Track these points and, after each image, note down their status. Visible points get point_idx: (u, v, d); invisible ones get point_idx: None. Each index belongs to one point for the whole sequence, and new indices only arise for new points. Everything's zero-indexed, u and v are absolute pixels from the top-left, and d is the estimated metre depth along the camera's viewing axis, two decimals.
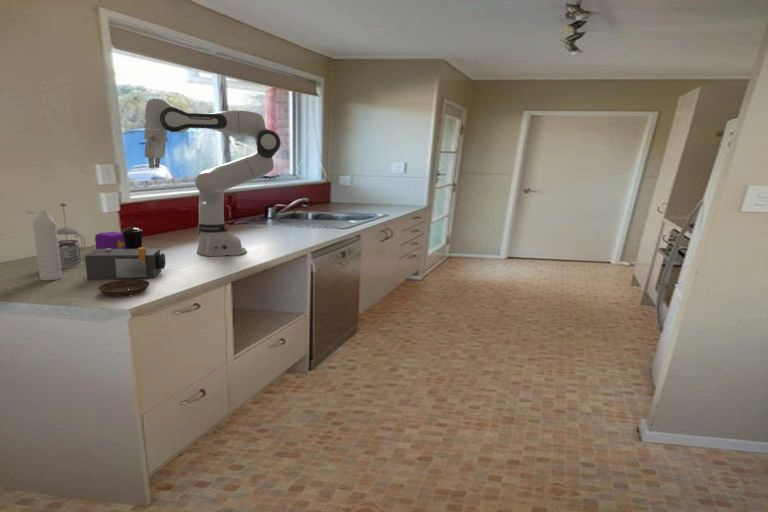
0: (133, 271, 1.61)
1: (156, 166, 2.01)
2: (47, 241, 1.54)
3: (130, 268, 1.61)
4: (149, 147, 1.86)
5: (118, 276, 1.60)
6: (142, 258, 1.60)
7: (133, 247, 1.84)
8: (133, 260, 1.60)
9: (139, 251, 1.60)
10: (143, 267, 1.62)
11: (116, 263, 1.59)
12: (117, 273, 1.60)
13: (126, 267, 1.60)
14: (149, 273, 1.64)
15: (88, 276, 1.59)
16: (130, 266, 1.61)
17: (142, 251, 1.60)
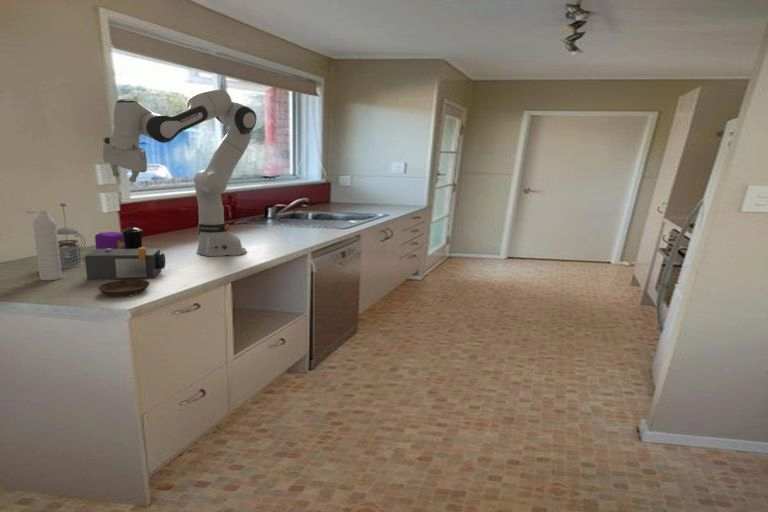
0: (133, 271, 1.61)
1: (117, 175, 1.73)
2: (47, 241, 1.54)
3: (130, 268, 1.61)
4: (143, 160, 1.66)
5: (118, 276, 1.60)
6: (142, 258, 1.60)
7: (133, 247, 1.84)
8: (133, 260, 1.60)
9: (139, 251, 1.60)
10: (143, 267, 1.62)
11: (116, 263, 1.59)
12: (117, 273, 1.60)
13: (126, 267, 1.60)
14: (149, 273, 1.64)
15: (88, 276, 1.59)
16: (130, 266, 1.61)
17: (142, 251, 1.60)
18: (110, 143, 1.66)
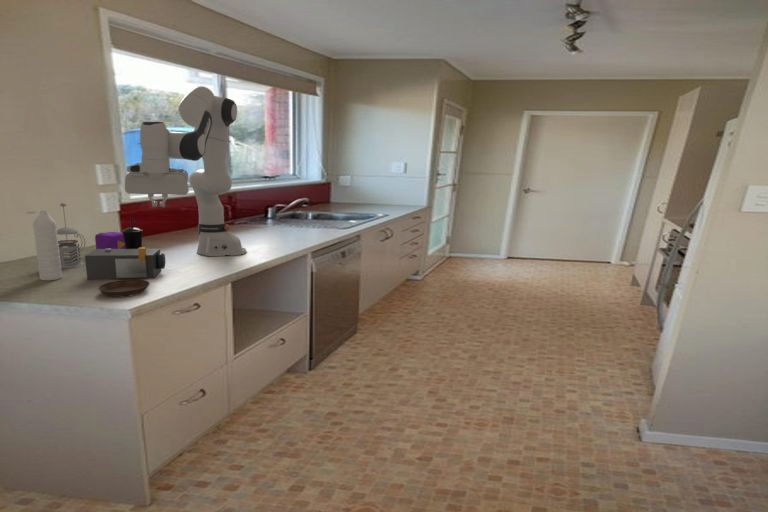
0: (133, 271, 1.61)
1: (157, 205, 1.58)
2: (47, 241, 1.54)
3: (130, 268, 1.61)
4: (186, 182, 1.59)
5: (118, 276, 1.60)
6: (142, 258, 1.60)
7: (133, 247, 1.84)
8: (133, 260, 1.60)
9: (139, 251, 1.60)
10: (143, 267, 1.62)
11: (116, 263, 1.59)
12: (117, 273, 1.60)
13: (126, 267, 1.60)
14: (149, 273, 1.64)
15: (88, 276, 1.59)
16: (130, 266, 1.61)
17: (142, 251, 1.60)
18: (142, 170, 1.51)
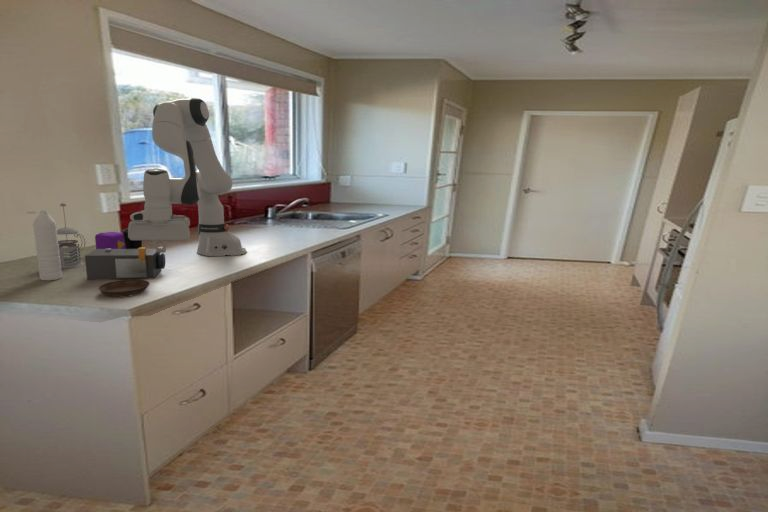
0: (133, 271, 1.61)
1: None
2: (47, 241, 1.54)
3: (130, 268, 1.61)
4: (188, 227, 1.62)
5: (118, 276, 1.60)
6: (142, 258, 1.60)
7: (133, 247, 1.84)
8: (133, 260, 1.60)
9: (139, 251, 1.60)
10: (143, 267, 1.62)
11: (116, 263, 1.59)
12: (117, 273, 1.60)
13: (126, 267, 1.60)
14: (149, 273, 1.64)
15: (88, 276, 1.59)
16: (130, 266, 1.61)
17: (142, 251, 1.60)
18: (145, 218, 1.55)
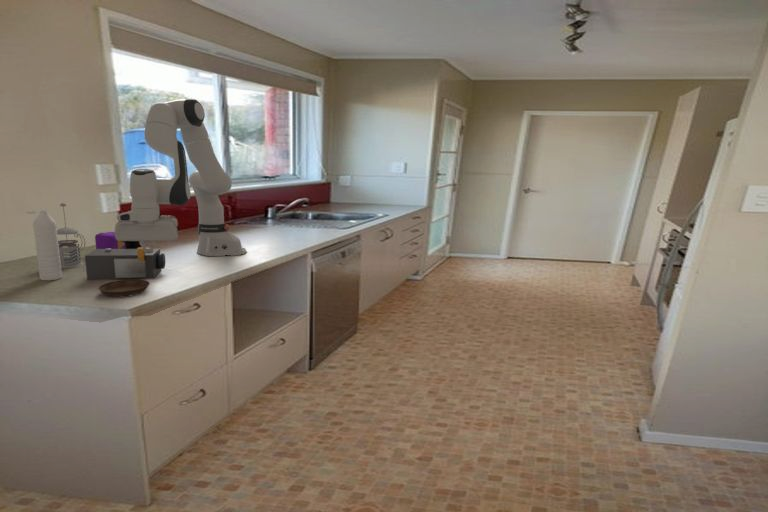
0: (132, 271, 1.61)
1: None
2: (47, 241, 1.54)
3: (129, 268, 1.61)
4: (176, 228, 1.61)
5: (117, 276, 1.60)
6: (141, 258, 1.60)
7: (133, 247, 1.84)
8: (132, 260, 1.60)
9: (138, 251, 1.59)
10: (142, 267, 1.62)
11: (115, 263, 1.59)
12: (116, 273, 1.60)
13: (125, 267, 1.60)
14: (149, 273, 1.64)
15: (88, 276, 1.59)
16: (129, 266, 1.60)
17: (141, 251, 1.60)
18: (132, 219, 1.54)
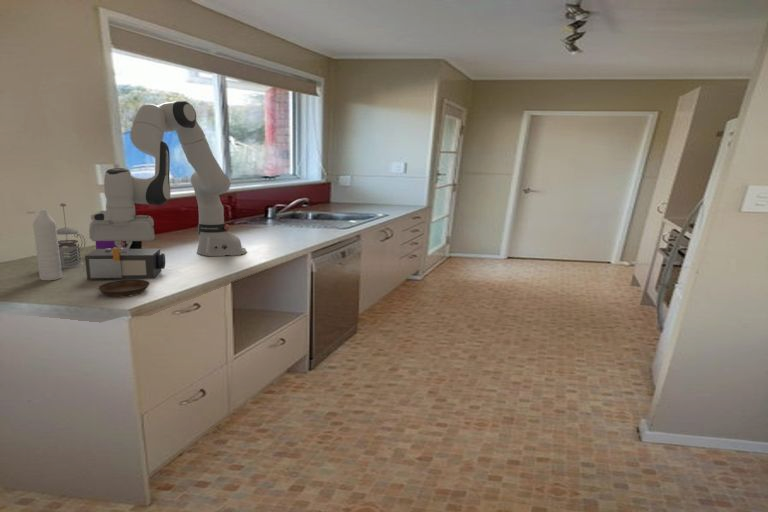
0: (107, 271, 1.59)
1: None
2: (47, 241, 1.54)
3: (105, 268, 1.59)
4: (152, 228, 1.59)
5: (92, 276, 1.58)
6: (116, 258, 1.58)
7: (133, 247, 1.84)
8: (107, 260, 1.58)
9: (113, 251, 1.58)
10: (118, 267, 1.60)
11: (90, 263, 1.57)
12: (91, 273, 1.58)
13: (100, 267, 1.58)
14: (149, 273, 1.64)
15: (88, 276, 1.59)
16: (105, 266, 1.59)
17: (117, 251, 1.58)
18: (107, 219, 1.52)
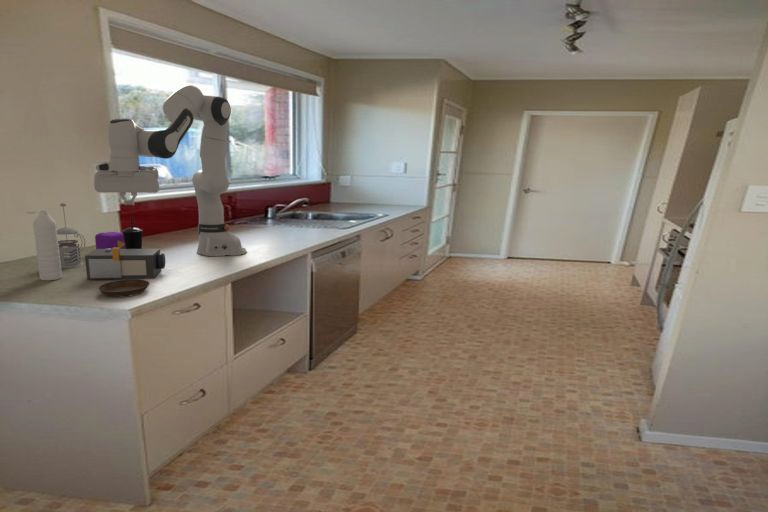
0: (107, 271, 1.59)
1: None
2: (47, 241, 1.54)
3: (104, 268, 1.59)
4: (156, 179, 1.59)
5: (92, 276, 1.58)
6: (116, 258, 1.58)
7: (133, 247, 1.84)
8: (107, 260, 1.58)
9: (113, 251, 1.58)
10: (117, 267, 1.60)
11: (90, 263, 1.57)
12: (91, 273, 1.58)
13: (100, 267, 1.58)
14: (149, 273, 1.64)
15: (88, 276, 1.59)
16: (104, 266, 1.58)
17: (116, 251, 1.58)
18: (111, 169, 1.52)
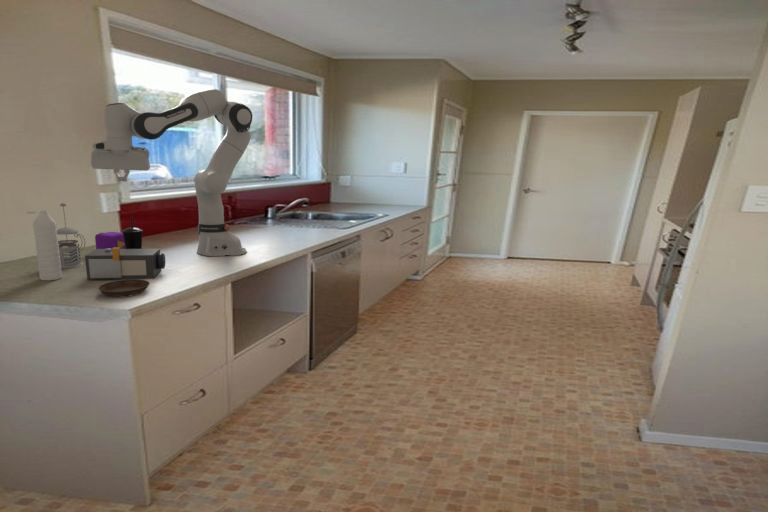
0: (107, 271, 1.59)
1: None
2: (47, 241, 1.54)
3: (104, 268, 1.59)
4: (147, 159, 1.77)
5: (92, 276, 1.58)
6: (116, 258, 1.58)
7: (133, 247, 1.84)
8: (107, 260, 1.58)
9: (113, 251, 1.58)
10: (117, 267, 1.60)
11: (90, 263, 1.57)
12: (91, 273, 1.58)
13: (100, 267, 1.58)
14: (149, 273, 1.64)
15: (88, 276, 1.59)
16: (104, 266, 1.58)
17: (116, 251, 1.58)
18: (107, 147, 1.69)
